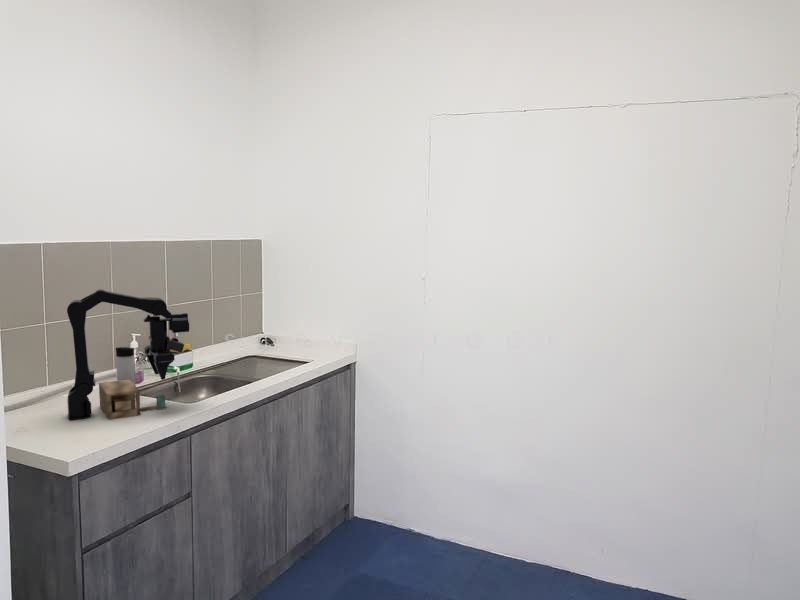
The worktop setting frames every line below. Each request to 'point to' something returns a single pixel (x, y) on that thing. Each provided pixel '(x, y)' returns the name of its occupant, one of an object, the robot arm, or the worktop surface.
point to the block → (125, 404)
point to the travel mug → (125, 364)
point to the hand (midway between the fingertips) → (159, 376)
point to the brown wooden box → (115, 391)
